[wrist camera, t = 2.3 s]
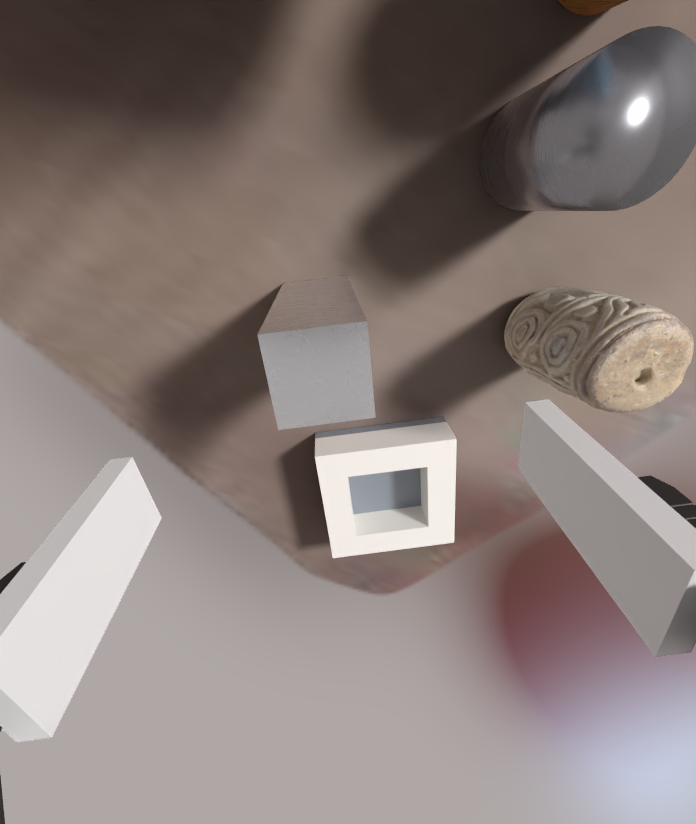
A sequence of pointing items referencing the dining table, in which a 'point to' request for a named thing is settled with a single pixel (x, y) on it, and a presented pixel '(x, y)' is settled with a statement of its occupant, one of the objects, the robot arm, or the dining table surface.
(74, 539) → the robot arm
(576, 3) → the disposable coffee cup
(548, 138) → the round bit
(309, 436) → the dining table surface
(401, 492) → the bore block
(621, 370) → the carving
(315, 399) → the square peg
